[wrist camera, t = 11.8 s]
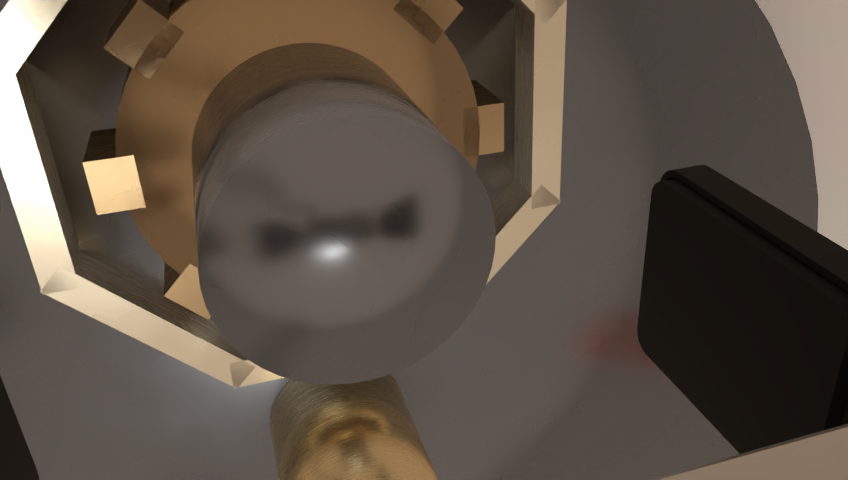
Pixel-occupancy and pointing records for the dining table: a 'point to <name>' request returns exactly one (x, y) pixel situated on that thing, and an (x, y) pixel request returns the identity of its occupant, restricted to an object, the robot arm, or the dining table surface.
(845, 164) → the dining table surface
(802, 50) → the dining table surface
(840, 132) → the dining table surface
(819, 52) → the dining table surface
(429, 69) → the gear
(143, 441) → the carrier plate
